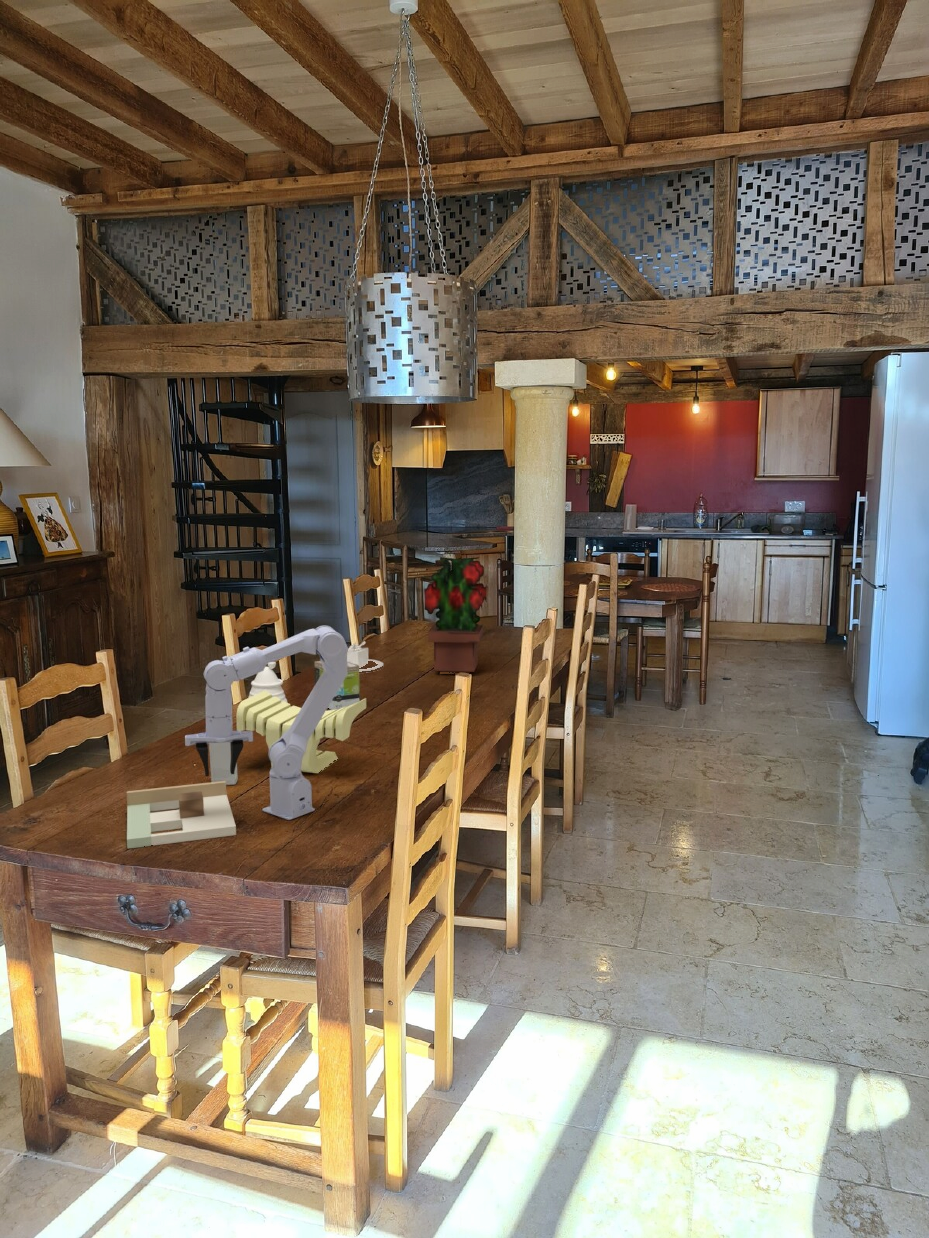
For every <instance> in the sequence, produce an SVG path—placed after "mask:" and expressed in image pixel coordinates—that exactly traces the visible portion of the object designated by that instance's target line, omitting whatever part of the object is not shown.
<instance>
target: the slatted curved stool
mask: <svg viewBox="0 0 929 1238" xmlns="http://www.w3.org/2000/svg"><path fill="white" fill-rule="evenodd" d="M301 708H302V707H299V706H296V705H292V706H291V703H288V701H287V702H282V703H281V699H279V698H277V697H275V696H274V697H272V694H270V693H269V692H267V691H266V690H265V691H263V692H261V693H258V694H256V695H254V696H252V697H250V698H245V699H244V700H242V701H240V703H239V704H238V706H237V709H236V714H235V715H236V717H235V718H236V731H245V730H246V731H252V732H254V731H255V733H258V734H259V735H261V736H262V737H264V736H265V742H266V745H267V747H268V750H269V749H270V747H271V746H272V744H274V743H275V742H277V741H278V740H279V739H280V738H281V736H282V735H283V733H285V732H286V731H287V730H288V729H289V728H290V727H291V725H292V723H293V722H294V720H295V718H296V717H297V715H298V713H299V711H300V710H301ZM366 709H367V698H366V697H365V698H363V699H361V700H360V701H359V702H357V703H354V704H352V705H350V706H348V707H343V708H340V709H339V710H337V709H335V710H331V709H328V710H326V711H325V713H324V715H323V716H322V718H321V720H320V721H319V723H318V725H317V726H316V728H315V730H314V731H313V733H312V735H311V737H310V738H309V740H308V743H307V748H306V752H305V754H304V756H303V758H302V766H301V773H302V772H303V773H310V774H319V772H320V771H321V770H322V771H324V770H325V769H326V768H325V767H327V768H328V767H330V765H329V764H330V763H332V764H333V763H334V762H333V761H334V760H336V761H338V760H339V758H338V755H337V753H336V752H335V751H328V750H325V751H324V750H318V745H319V743H320V741H321V739H323V738H326V739H327V738H328V739H333V738H335V739H336V740H339V741H341V742H344V741H345V740H347V739H348V738H349V737H350V733H351V728H352V724H353V721H354V720H355V719H356V718H357V716H358V715H359V714H360V713H361V712H363V711H364V710H366ZM337 759H338V760H337ZM270 764H271V767H270V769H272V766H273V764H272V762H271V761H270ZM324 768H325V769H324ZM322 771H321V772H322ZM321 772H320V773H321Z"/></svg>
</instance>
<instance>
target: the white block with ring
mask: <svg viewBox="0 0 929 1238" xmlns="http://www.w3.org/2000/svg"><path fill="white" fill-rule="evenodd" d="M366 643H367V642H366V641H365V640H364V641H362V642H361V643H360V644H359V645H358V644H357V643H356V642H355V641H354V643H353V644H352V645H350V646H349V647H348V653H347V662H350V663H353V664H356V665H359V668H361V667H363V666H365V665H366V664H368V661H373V662H375V663H376V664H378V665H377V666H375V667H372V668H367V669H359V672H362V671H371V670H375V669H377V668H380V667H382V666H383V667H384V662H382V661H380V660H376V659H370V658H369V647H362V646H364V645H365V644H366Z"/></svg>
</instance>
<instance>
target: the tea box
mask: <svg viewBox="0 0 929 1238" xmlns="http://www.w3.org/2000/svg"><path fill="white" fill-rule="evenodd" d="M313 669H314V686H315V685H316V683H317V681H318V679H319V678H320V676H321V674H322V673H323V671H324V669H323V666H322V663H321V660H317V661H316V660H315V661H314V668H313ZM359 701H361V700H360V673H359V665H356V664H353V663H350V662H347V675H346V677H345V679H344V681H343V682H342V684H341V686H340V688H339V689H338V691H337V693H336V694H335V696H334V698H333V699H332V701H331V703H330V704H329V706H328V708H329V709H328V708H327V709H328V710H335V709H337V710H339V709H340V708H343V707H348V706H350V705H352V704H354V703H357V702H359Z"/></svg>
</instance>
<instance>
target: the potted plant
mask: <svg viewBox="0 0 929 1238" xmlns="http://www.w3.org/2000/svg"><path fill="white" fill-rule="evenodd" d="M479 558H481V557H480V556H477V557H465V558H464V557H463V558H452V557H451V558H450V557H445V556H444V557H443V556H442V557H441V556H439V559H436V560H435V561H434V562H435V566H436V567H441V568H439V569H437V571H436V572H434V573H433V574H432V575H431V580H432V582H431V583H428V585H427V587H426V588H424V590H423V591H424V594H423V596H424V605H423V607H424V610H425V611H427V614H428V615H432V614H434V611H435V610H437V611H436V612H435V614H434V615H435V617H436V618H437V619H438V620H436V621H435V623H434V624H433V625H432V627H431V628H430V629H429V630H428V632H427V635H428V639H427V642H428V643H433V670H434V672H437V671H438V672H439V673H440V672H449V673H450V672H452V673H454V672H455V673H459V672H466V673H470V672H471V673H472V672H474V673H475V670H476V668H477V666H478V664H479V663H478V657H479V656H478V655H479V654H478V648H479V647H478V644H480V642H481V639H482V636H483V634H484V624H478V623H479V622H480V620H481V617H480V615H477V612H478V611H479V610H480V609H481V610H483V603H484V601H485V602H487V597H488V595H487V590H488V589H487V588H488V587H487V583H486V584H485V586H484V584H483V583H481V582H480V581H481V578H482V577H483V576H484V574H485V567H484V565H482V564H481V562H480V560H478V559H479ZM476 559H477V560H476ZM479 582H480V583H479ZM455 673H454V674H455ZM471 673H470V674H471Z"/></svg>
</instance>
